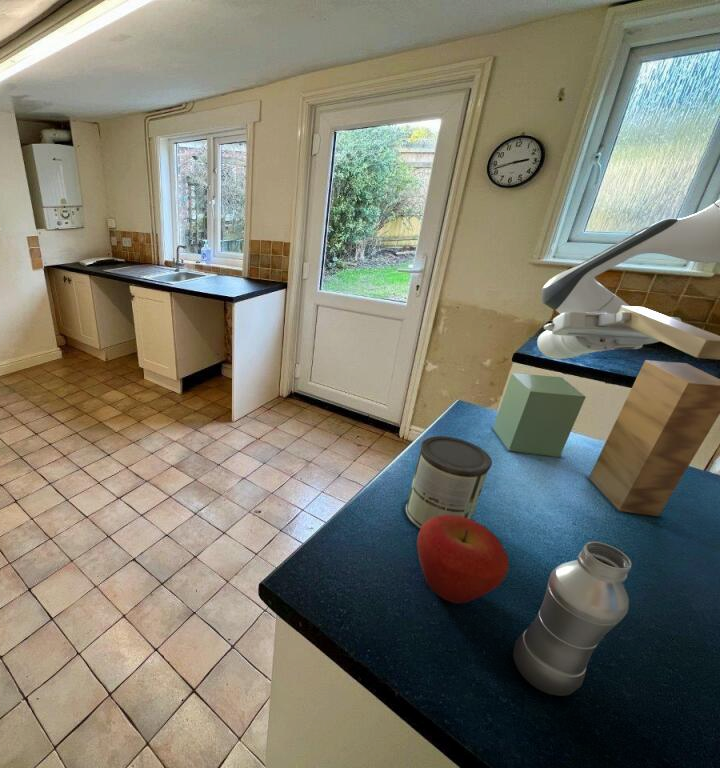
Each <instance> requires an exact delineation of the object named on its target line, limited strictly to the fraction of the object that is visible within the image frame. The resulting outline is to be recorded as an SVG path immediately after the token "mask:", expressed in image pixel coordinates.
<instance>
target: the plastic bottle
mask: <svg viewBox="0 0 720 768" xmlns="http://www.w3.org/2000/svg"><path fill="white" fill-rule="evenodd" d="M631 568H632V561H631V559H630V558H629V557H628V556H627V555H626V554H625V553H623V551H621V550H619V548H616V547H615V546H612V545H611V544H607V543H605V542H599V541H589V542H587V543H586V544H584V546H583V548H582V549H581V551H580V552H579V553H578V555H577V557H576V560H571V561H567V562H562V563H561V564H559V565H558V566H556V567H555V568H553V569H552V571H551V572H550V575H549V577H548V581H547V586H546V589H545V594H544V598H543V599H542V600H543V601H542V602H541V605H540V609H539V610H538V613H537V615H536V617H535V618H534V619H533V621H532V622H531V623H530V625H529V626H528V628H526V629H525V630H524V631H523V632H522V633H521V634H520V635H519V636H518V638H517V639H516V640H515V643H514V645H513V646H514V647H513V653H512V658H513V661H514V664H515V666H516V668H517V670H518V671H519V673H520V674H521V676H522V677H523V678H524V680H526V682H528V683H529V684H530V685H532V687H534V688H536V689H537V690H539V691H541V692H543V693H545V694H548V695H552V696H558V697H565V696H570V695H572V694H573V693H575V692H576V691H577V690H578V689H580V688H581V686H582V685H583V683H584V680H585V676H586V672H587V666H588V664H589V663H590V659H591V657H592V656H593V655H592V654H593V652H594V650H595V649H596V647H597V646H598V645H599V644H600V642H601V641H602V640H603V638H604V637H605V636H606V635H607V634H609V632H610V631H612V629H613V628H615V627H616V626H617V625H618V624H619V623H620V622H621V621H622V620H623V619H624V618H625V617H626V616H627V614H628V612H629V605H630V603H629V602H630V599H629V595H628V593H627V591H626V587H625V586H624V584H623V583H624V582H625V581H626V579H627V578H628V573H629V571H630V570H631Z"/></svg>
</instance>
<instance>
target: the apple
mask: <svg viewBox="0 0 720 768" xmlns="http://www.w3.org/2000/svg"><path fill="white" fill-rule="evenodd" d="M417 535H418V536H417V541H416V548H417V554H418V555H417V556H418V561H419V563H420V566H421V570H422V573H423V577H424V579H425V582H426V584H427V586H428V587H429V588H430V589H431V590H432V591H433V593H435V594H436V595H437V596H439V597H440V598H441V599H443V600H444V601H447V602H449V603H452V604H466V603H468V602H471V601H473V600H475V599H479V598H480V597H483V596H486V594H488V593H490V592H492V591H493V590H495V589H496V588H497V587H500V585H501V584H502V582H503V581H504V580H505V579H506V577H507V574H508V572H509V568H510V563H509V557H508V553H507V552H506V551H505V549H504V547H503V545H502V543H501V542H500V540H499V539H498V537H497V536H496V535H494V533H493V532H491V530H489V529H488V528H487V527H486V526H484V525H482V524H481V523H478V522H477V521H476V520H475V521H474V520H473V519H471V520H470V519H467V518H464V517H462V516H456V515H441V516H438V517H434V518H431V519H429V520H428V521H426V522H425V523H424V524H423V525H422V526H421V529H420V528H419V532H418V534H417Z"/></svg>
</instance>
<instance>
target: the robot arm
mask: <svg viewBox="0 0 720 768" xmlns="http://www.w3.org/2000/svg"><path fill="white" fill-rule="evenodd" d="M645 254H656V255H663V256H668V257H673V258H676V259H681V260H683V261H689V262H694V263H703V264H706V263H707V264H711V263H713V264H714V263H720V199H719V200H717V201H715V203H712V204H711V205H710V206H708V207H706V208H704V209H703V210H701V211H698V212H697V213H694V214H691V215H688V216H685V217H682V218H669V217H667V218H665V219H661V220H659V221H656V222H655V223H652V224H650V225H648V226H646V227H644V228H643V229H640V230H639V231H637V232H634V233H632V234H630V235H629V236H628V237H625V238H624V239H622V240H620V241H618V242H616V243H615V244H613V245H611V246H609V247H607V248H605V249H604V250H602V251H601V252H599V253H597V254H595V255H593V256H592V257H590V258H588V259H586V260H584V261H582V262H580V263H579V264H577V265H575V266H573V267H571V268H568V269H567V270H564V271H561V272H559V273H558V274H556V275H555V276H553V277H551V278H550V279H548V281H547V282H546V283H545V284H544V285H543V286H542V288H541V301H542V304H544V305H545V306H547V307H549V308H550V309H552V310H553V311H556V312H557V313H558V315H557V316H555V317H554V318H553V319H552V322H550V323H546V324H545V325H543V332H542V333H541V334H539V335H538V337H537V340H536V344H537V348H538V350H539V351H540V353H542V355H544V356H545V357H547V358H550V359H555V360H562V359H570V358H575V357H579V356H582V355H587V354H592V353H597V352H598V353H599V352H601V353H602V352H606V351H611V350H614V351H615V350H617V351H618V350H638V349H642V348H643V346H644V345H650V344H651V345H652V344H655V343H660V342H661V341H659V340H657V339H655V338H653V337H650V336H648V335H646V334H644V333H642V332H640V331H637V330H635V329H633V328H631V327H629V326H626V325H624V324H622V323H625V322H628V321H630V320H631V312H619V310H620V308H621V306H630V305H629V304H628V303H627V302H626V301H624V300H623V299H622V298H620V297H619V296H617V294H615V293H614V292H612V291H610V290H609V289H608V288H607V287H606V286H604V285H602V284H601V283H600V282H599V281H597V279H596V277H597V276H599V275H601V274H603V273H605V272H607V271H608V270H610V269H612V268H614V267H616V266H618V265H619V264H621V263H624V262H626V261H627V260H629V259H632V258H633V257H636V256H640V255H645ZM669 317H670V318H673V319H676V320H678V321H681V322H682V319H681V318H680V317H677V316H669ZM544 330H545V331H544Z"/></svg>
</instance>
